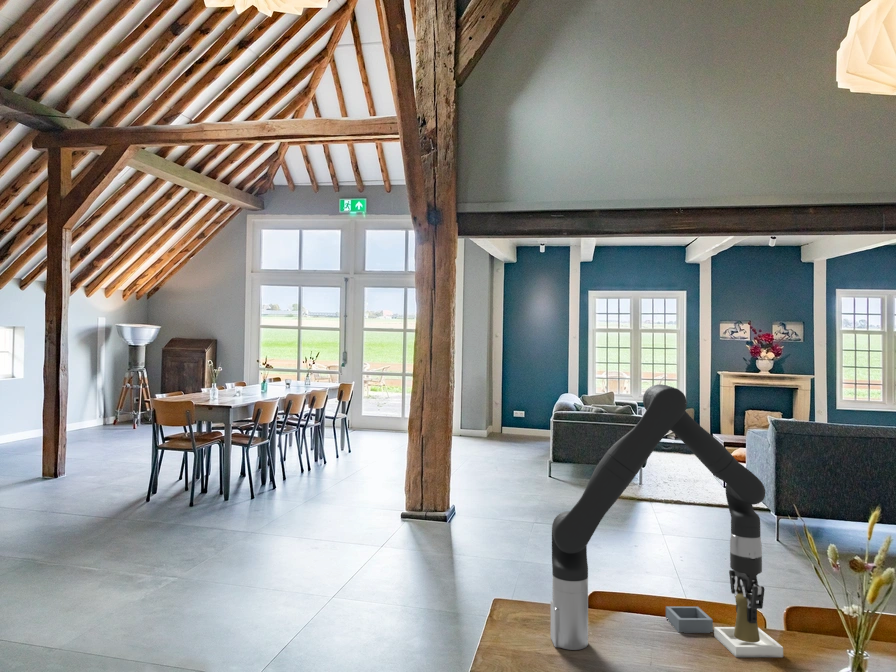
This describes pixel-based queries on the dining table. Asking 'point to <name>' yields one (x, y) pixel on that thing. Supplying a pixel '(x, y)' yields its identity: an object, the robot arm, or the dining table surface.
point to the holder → (689, 619)
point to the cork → (745, 622)
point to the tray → (748, 644)
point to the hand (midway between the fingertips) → (746, 617)
